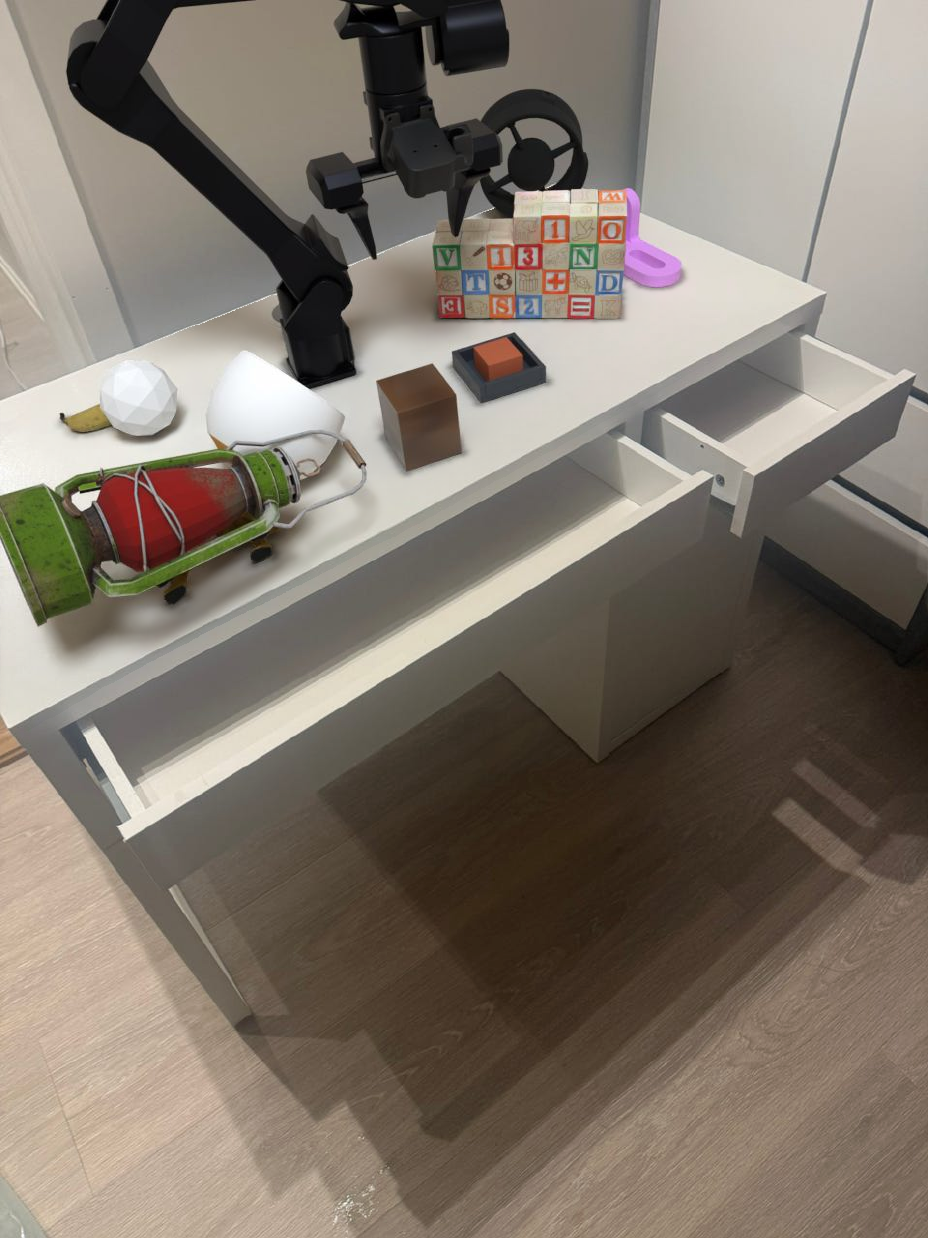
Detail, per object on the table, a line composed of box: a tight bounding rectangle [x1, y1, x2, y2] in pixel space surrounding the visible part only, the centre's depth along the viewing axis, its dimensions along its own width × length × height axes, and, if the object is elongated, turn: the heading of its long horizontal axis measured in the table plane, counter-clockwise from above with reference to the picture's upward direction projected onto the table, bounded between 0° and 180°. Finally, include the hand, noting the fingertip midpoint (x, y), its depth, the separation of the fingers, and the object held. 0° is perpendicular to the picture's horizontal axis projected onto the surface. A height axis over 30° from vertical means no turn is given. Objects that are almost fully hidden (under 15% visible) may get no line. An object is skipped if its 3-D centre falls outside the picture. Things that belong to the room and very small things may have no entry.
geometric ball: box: [99, 359, 178, 437], centre depth 96 cm, size 8×8×8 cm
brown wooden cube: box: [375, 362, 462, 472], centre depth 91 cm, size 6×6×7 cm
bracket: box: [622, 187, 682, 288], centre depth 111 cm, size 13×6×7 cm, turn 36°
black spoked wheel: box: [479, 88, 589, 219], centre depth 119 cm, size 14×14×10 cm
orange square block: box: [473, 337, 523, 382], centre depth 99 cm, size 4×4×2 cm
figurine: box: [153, 512, 281, 605], centre depth 84 cm, size 15×6×13 cm
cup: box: [205, 349, 346, 481], centre depth 88 cm, size 12×12×10 cm
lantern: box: [0, 430, 368, 628], centre depth 77 cm, size 14×11×30 cm
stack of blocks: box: [432, 188, 627, 320], centre depth 105 cm, size 21×6×12 cm, turn 84°
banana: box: [58, 403, 112, 433], centre depth 99 cm, size 10×2×4 cm
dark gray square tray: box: [451, 331, 547, 404], centre depth 100 cm, size 8×8×2 cm
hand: (414, 246), depth 96 cm, fingers open, 9 cm apart
